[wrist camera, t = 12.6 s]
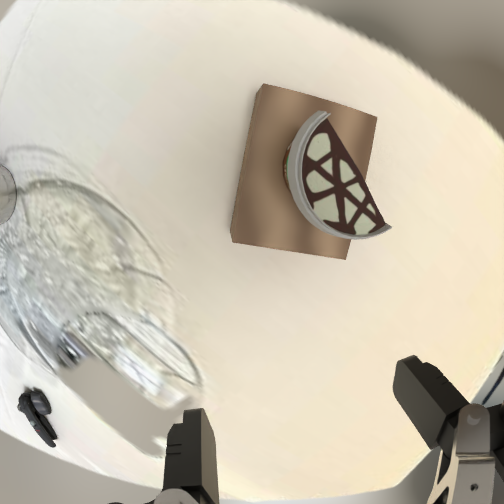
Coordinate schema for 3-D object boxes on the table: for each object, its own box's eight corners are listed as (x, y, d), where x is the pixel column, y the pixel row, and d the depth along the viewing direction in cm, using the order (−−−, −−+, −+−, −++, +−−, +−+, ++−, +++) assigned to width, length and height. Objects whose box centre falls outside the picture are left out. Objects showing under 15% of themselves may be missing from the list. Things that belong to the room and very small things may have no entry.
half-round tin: (248, 150, 31) (262, 147, 22) (295, 120, 31) (326, 107, 21) (308, 240, 35) (340, 271, 26) (350, 210, 35) (394, 232, 25)
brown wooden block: (229, 229, 40) (232, 242, 34) (256, 94, 35) (263, 83, 29) (328, 245, 42) (345, 259, 36) (356, 121, 37) (377, 117, 31)
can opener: (19, 381, 43) (8, 398, 38) (45, 388, 44) (35, 407, 39) (43, 434, 48) (36, 450, 43) (67, 441, 49) (61, 458, 44)
